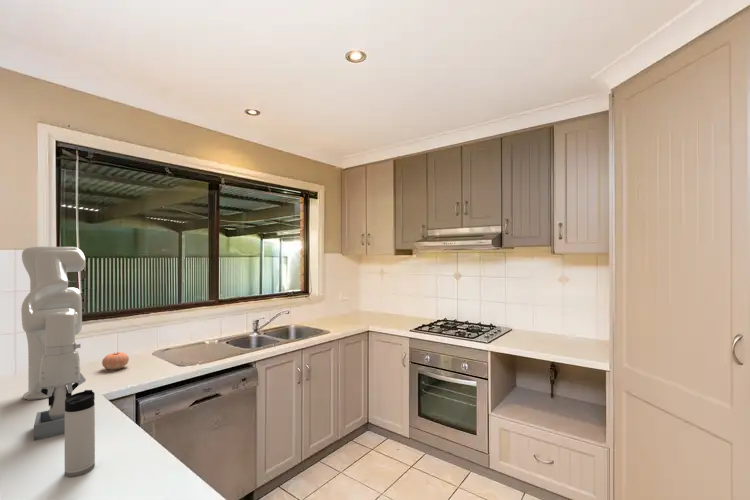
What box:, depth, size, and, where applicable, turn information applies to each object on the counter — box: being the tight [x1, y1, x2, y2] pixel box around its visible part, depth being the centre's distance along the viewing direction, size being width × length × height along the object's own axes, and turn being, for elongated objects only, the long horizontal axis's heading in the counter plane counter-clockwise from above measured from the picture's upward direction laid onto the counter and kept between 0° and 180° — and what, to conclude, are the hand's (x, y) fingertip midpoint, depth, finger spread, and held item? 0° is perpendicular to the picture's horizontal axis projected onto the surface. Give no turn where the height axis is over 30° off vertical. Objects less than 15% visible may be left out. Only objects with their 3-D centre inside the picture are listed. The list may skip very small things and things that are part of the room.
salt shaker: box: [48, 383, 68, 421], centre depth 121 cm, size 6×6×13 cm
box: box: [33, 409, 65, 441], centre depth 121 cm, size 12×12×4 cm
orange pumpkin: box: [101, 351, 130, 371], centre depth 181 cm, size 11×11×8 cm
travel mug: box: [64, 389, 96, 478], centre depth 98 cm, size 6×7×20 cm
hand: (60, 405), depth 121 cm, fingers closed on salt shaker, 3 cm apart
